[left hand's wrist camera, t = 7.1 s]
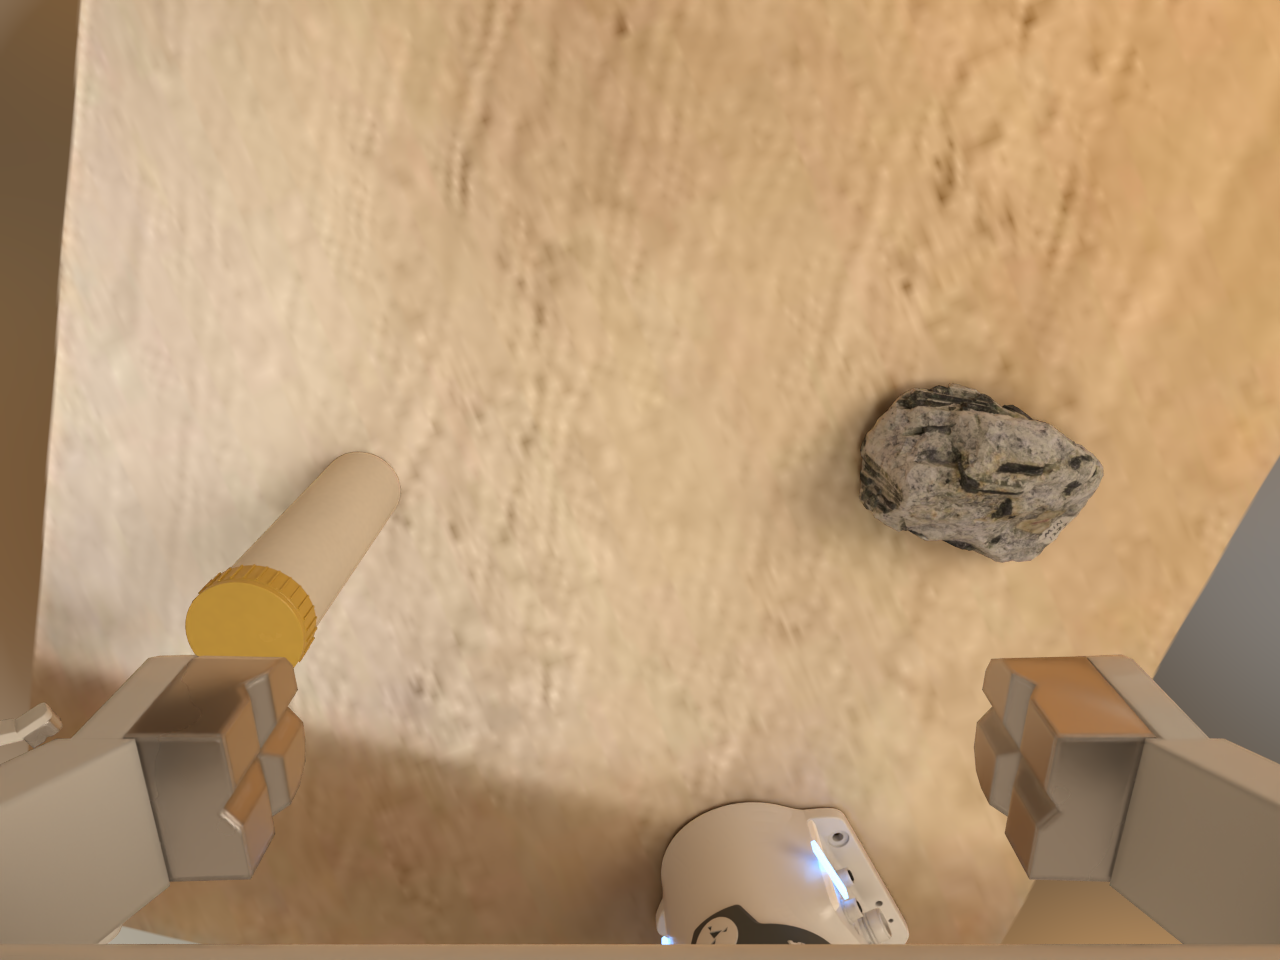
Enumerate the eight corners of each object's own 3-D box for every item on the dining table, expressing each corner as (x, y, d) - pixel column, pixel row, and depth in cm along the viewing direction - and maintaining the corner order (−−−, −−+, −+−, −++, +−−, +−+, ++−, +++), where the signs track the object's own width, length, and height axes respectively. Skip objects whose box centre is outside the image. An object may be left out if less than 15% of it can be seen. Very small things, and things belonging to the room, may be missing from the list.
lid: (301, 679, 46) (287, 701, 44) (190, 641, 45) (171, 662, 43) (331, 587, 44) (319, 606, 42) (216, 546, 43) (198, 563, 41)
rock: (833, 492, 61) (860, 537, 54) (901, 356, 57) (939, 386, 51) (1020, 560, 63) (1067, 610, 56) (1096, 433, 60) (1156, 471, 53)
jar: (387, 533, 62) (286, 690, 44) (315, 506, 62) (183, 654, 44) (410, 468, 60) (315, 604, 43) (336, 439, 60) (207, 566, 42)
